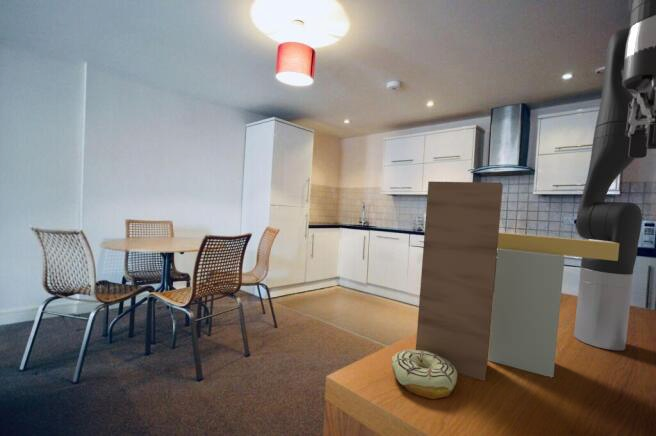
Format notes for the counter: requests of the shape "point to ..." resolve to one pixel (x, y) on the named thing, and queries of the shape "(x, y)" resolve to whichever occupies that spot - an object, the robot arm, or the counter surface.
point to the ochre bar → (559, 246)
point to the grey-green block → (526, 310)
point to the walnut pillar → (459, 273)
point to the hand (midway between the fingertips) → (645, 153)
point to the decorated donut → (424, 373)
